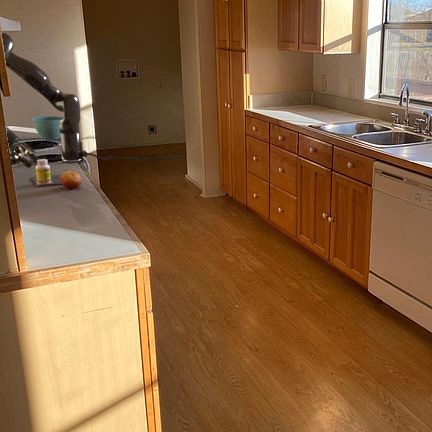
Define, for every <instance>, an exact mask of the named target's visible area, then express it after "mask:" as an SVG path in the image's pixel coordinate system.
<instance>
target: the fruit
mask: <svg viewBox="0 0 432 432" xmlns="http://www.w3.org/2000/svg"><path fill="white" fill-rule="evenodd" d="M61 175H62V176H61V183H62V184H61V185H62V187H61V188H62V189H63V188H65V189H68V190H74V189H77V188H80V186H81V185H82V177H81V175H80V174H79V173H77V172H75V171H71V170H67V171H65V172H63V173H62V174H61Z"/></svg>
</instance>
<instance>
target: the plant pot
mask: <svg viewBox="0 0 432 432" xmlns="http://www.w3.org/2000/svg"><path fill="white" fill-rule="evenodd" d="M63 118H64V116H57V115H56V116H54V115H53V116H52V115H51V116H48V115H47V116H38V117H33V118H32V123H33V126H34V128H35V131H36V132H37V133H38V135H39V136H40V137H41V138H42V139H43V140H44V141H55V140H59V139H61V138H60V128H59V121H60V120H62V119H63Z"/></svg>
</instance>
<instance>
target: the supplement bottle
mask: <svg viewBox="0 0 432 432" xmlns="http://www.w3.org/2000/svg"><path fill="white" fill-rule="evenodd" d="M35 174H36V177H37V183H39V184H47V183H50V182H51V176H52V175H51V167H50V165H49V164H48V159H46V158H39V160H37V165H36V166H35Z"/></svg>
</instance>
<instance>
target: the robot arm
mask: <svg viewBox="0 0 432 432" xmlns="http://www.w3.org/2000/svg"><path fill="white" fill-rule="evenodd" d="M2 38H3V45H4V52H5V60H6V66H5V67H7V68H8V69H9V70H10V71H12V72H13V74H15V75H16V76H17V77H19V79H21V80H22V81H24V82H25V83H26V84H27V85H29V87H31V88H32V89H33V90H35V91H36V92H37V93H38V94H40V95H41V96H42V97H43V98H44V99H46V100H47V102H49V103H50V104H51V105H52V107H53V108H54V109H56V111H58V112H61V113H63V117H64V118H63V119H62V120H60V121H59V128H60V138H59V139H60V148H61V160H62V162H64V163H78V162H83V161H84V158H86V157H87V158H88V156H92V157H95V158H96V159H97V160H99V161H108V160H118V159H119V160H132V161H167V160H179V159H185V156H174V157H159V158H157V157H156V158H155V157H154V158H150V157H149V158H145V157H126V156H125V157H124V156H110V157H103V158H102V157H99V156H98V155H96V154H95V153H90V152H87V150H83V145H82V144H83V142H82V141H81V132H80V121H81V103H80V99H79V97H78V96H77V95H76V94H74V93H69V92H63V91H62V90H60V89H58V88H57V87H56V86H54V85H53V83H52V81H51V80H50V78H49V75H48V74H47V73H46V72H45V71H44V70H43V69H42V68H41V67H40V66H38V65H37V64H36V63H35V62H33V61H31V60H29V59H27V58H25V57H22V56H20V55H19V54H16V53H14V52H13V49H14V40H13V38H12V37H11V35H9V34H8V33H7V32H2ZM6 129H7V137H8V143H9V150H10V155H9V157H11V158H12V159H13V160H14V161H15V162H16V163H21V164H23V165H24V166H25V167H26V168H27V169H31V167H32V166H33V163H31V161H29V160H28V159H27V158H26V157H28V158H30V159H31V160H32V161H33V162H34V163H35V164H37V160H39V159H40V158H39V157H38V156H37V155H36V154H35V152H36V151H35V150H34V149H33V148H32V147H31V146H29V145H28V144H27V143H26V142H24V141H22V143H20V142H19V141H20V137H19V136H18V135H17V134H15V133H14V132H13V131H12V130H11V129H10V128H9V127H8V126H6ZM37 165H38V164H37Z"/></svg>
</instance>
